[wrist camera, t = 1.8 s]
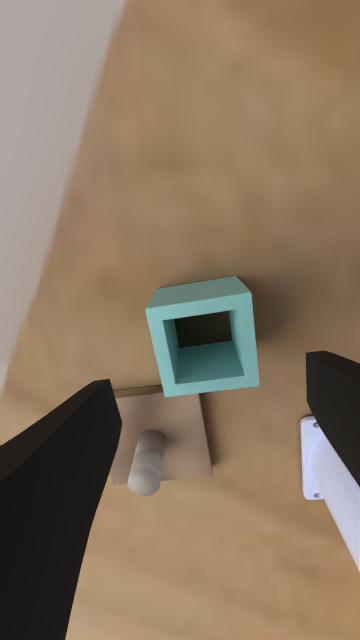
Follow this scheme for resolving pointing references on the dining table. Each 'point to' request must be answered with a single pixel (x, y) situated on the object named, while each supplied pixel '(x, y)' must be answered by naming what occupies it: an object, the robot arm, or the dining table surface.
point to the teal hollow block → (209, 359)
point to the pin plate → (170, 424)
